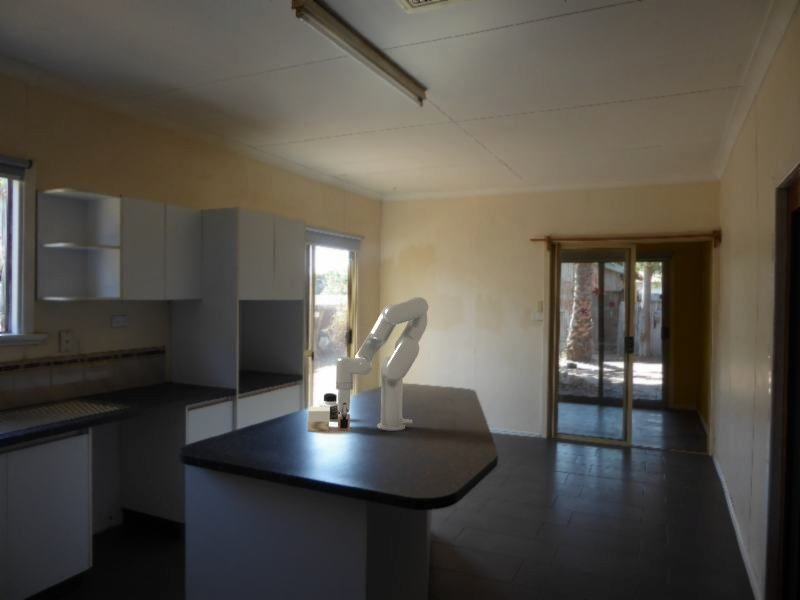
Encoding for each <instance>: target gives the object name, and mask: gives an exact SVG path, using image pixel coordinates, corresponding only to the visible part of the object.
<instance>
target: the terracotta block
mask: <svg viewBox="0 0 800 600" xmlns="http://www.w3.org/2000/svg"><path fill="white" fill-rule="evenodd" d="M340 419H341V413H340V414H338V420H337V430H338V431H350V430H351V429H350V428H351V425H350V424H351V423H350V422H351V414H350V413H347V419H348V428H346V429H341V428H340Z"/></svg>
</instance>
